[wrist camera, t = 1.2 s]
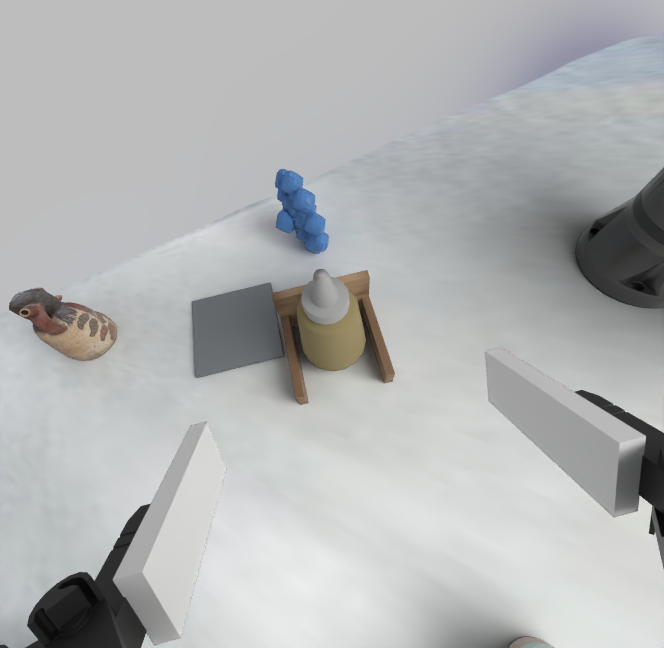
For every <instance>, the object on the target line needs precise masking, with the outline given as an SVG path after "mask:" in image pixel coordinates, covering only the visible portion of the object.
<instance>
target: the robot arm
mask: <svg viewBox="0 0 664 648" xmlns="http://www.w3.org/2000/svg"><path fill="white" fill-rule="evenodd" d="M576 258H577V261H578V264H579V266H580V268H581V270H582V272H583V273H584V275H585V276H586V277H587V278H588V279H589V281H590V282H591V283H592V284H594V285H595V286H596V287H597V288H598V289H600V290H601V291H602V292H604V293H605V294H607V295H609V296H611V297H613V298H614V299H617V300H619V301H621V302H624V303H627V304H630V305H634V306H638V307H644V308H664V168H663V169H662V170H661V171H660V172H659V173H658V174H657V175H656V176H655V177H654V178H653V179H652V180H651V181H650V182H649V183H648V184H647V185H646V186H645V187H644V188H643V189H642V190H641V191H640V192H639V193H638V194H637V195H636V196H635V197H634V198H632V199H630V200H628V201H627V202H625V203H623V204H622V205H620V206H618V207H616V208H615V209H613V210H611V211H609V212H608V213H606V214H604V215H602V216H601V217H599V218H598V219H596V220H595V221H594V222H593V223H592V224H591V225H590V226H589V227H588V228H587V229H586V230H585V231H584V232H583V234H582V235H581V236H580V238H579V239H578V242H577V245H576ZM485 359H486V372H487V386H488V400H489V402H490V403H491V404H492V405H493V406H494V407H495V408H497V409H498V410H499V411H500V412H501V413H502V414H503V415H504V416H505V417H506V418H507V419H508V420H509V421H510V422H512V423H513V424H514V425H515V426H516V427H517V428H518V429H519V430H520V431H521V432H522V433H523V434H524V435H526V436H527V437H528V438H529V439H530V440H531V441H532V442H533V443H534V444H535V445H536V446H537V447H538V448H539V449H541V450H542V451H543V452H544V453H545V454H546V455H547V456H548V457H549V458H550V459H551V460H552V461H553V462H555V463H556V464H557V465H558V466H559V467H560V468H561V469H562V470H563V471H564V472H565V473H566V474H567V475H568V476H570V477H571V478H572V479H573V480H574V481H575V482H576V483H577V484H578V485H579V486H580V487H581V488H582V489H584V490H585V491H586V492H587V493H588V494H589V495H590V496H591V497H592V498H593V499H594V500H595V501H596V502H597V503H599V504H600V505H601V506H602V507H603V508H604V509H605V510H606V511H607V512H608V513H609V514H610V515H611V516H613V517H618V516H621V515H625V514H629V513H632V512H636V511H638V504H639V495H640V496H641V497H642V498H644V499H645V500H646V501H648V502H649V503H650V504H651V505H653V506H652V513H651V521H650V529H649V534H653V535H654V533H655V532H656V537H657V541H658V545H659V550H660V554H661V559H662V563H663V567H664V433H663V432H661V431H659V430H658V429H656V428H654V427H652V426H651V425H649V424H647V423H645V422H644V421H642V420H640V419H638V418H637V417H635V416H633V415H632V414H630V413H628V412H625V410H623V409H621V408H619V407H618V406H616V405H615V406H614V405H613V404H612V403H611V402H609V401H607V400H606V399H604V398H602V397H600V396H598V395H595V394H592V393H589V392H586V391H583V390H580V391H576V392H573V391H572V390H570V389H568V388H567V387H565V386H563V385H562V384H560V383H559V382H557V381H555V380H554V379H552V378H550V377H549V376H547V375H545V374H544V373H542V372H541V371H539V370H537V369H536V368H534V367H532V366H531V365H529V364H528V363H526V362H524V361H523V360H521V359H519V358H518V357H516V356H515V355H513V354H511V353H510V352H508V351H506V350H505V349H503V348H502V347H498V348H494V349H490V350H486V351H485ZM226 470H227V469H226V467H225V464H224V462H223V459H222V457H221V454H220V452H219V450H218V447H217V445H216V442H215V440H214V437H213V435H212V432H211V430H210V427H209V425H208V423H207V422H203V423H199V424H195V425H191V426H190V427H189V429H188V431H187V433H186V435H185V437H184V439H183V441H182V443H181V445H180V447H179V449H178V451H177V453H176V455H175V457H174V459H173V461H172V463H171V465H170V467H169V469H168V471H167V473H166V475H165V477H164V479H163V481H162V483H161V485H160V487H159V489H158V491H157V493H156V495H155V497H154V499H153V501H152V503H151V504H148V505H144V506H141V507H140V508H139V509H138V510H137V511H136V512H135V513H134V514H133V516H132V517H131V518H130V519H129V520H128V522H127V523H126V525H125V527H124V529H123V531H122V532H121V534H120V538H118V540H117V541H116V543H115V545H114V547H113V548H114V549H113V550H112V551H111V552H110V554H109V556H108V558H107V560H106V561H105V563H104V565H103V567H102V569H101V570H100V572H99V574H98V576H97V578H96V579H95V581H94V580H93V579H92V577H91V576H90V575H89V574H88V573H87V572H79V573H76V574H73V575H71V576H68V577H67V578H65V579H64V580H62V581H60V582H59V583H57V584H56V585H55V586H54V587H53V588H51V589H50V590H49V591H48V592H47V593H46V594H45V595H44V596H43V597H42V598H41V599H40V601H39V602H38V603H37V604H36V605H35V607H34V609H33V610H32V612H31V614H30V616H29V619H28V624H27V626H28V627H29V629H30V630H31V631H32V632H33V633H34V635H35V636H36V637H37V638H38V641H36V642H34V643H33V644H31V645H29V646H27V647H26V648H141V646H142V643H143V640H144V637H145V634H146V633H147V635H148V636H149V638H150V639H151V641H152V643H153V644H154V645H157V644H161V643H164V642H168V641H171V640H175V639H179V638H181V636H182V632H183V628H184V625H185V621H186V617H187V614H188V610H189V606H190V602H191V599H192V595H193V591H194V588H195V584H196V580H197V577H198V573H199V569H200V566H201V562H202V558H203V554H204V551H205V547H206V543H207V540H208V536H209V532H210V529H211V525H212V521H213V518H214V514H215V510H216V506H217V503H218V499H219V495H220V492H221V488H222V484H223V481H224V477H225V473H226ZM0 648H8V647H7V646H6V645H0Z"/></svg>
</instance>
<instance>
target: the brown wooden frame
mask: <svg viewBox="0 0 664 648" xmlns="http://www.w3.org/2000/svg"><path fill="white" fill-rule="evenodd" d="M336 279H338V280H340V281H341V282H343V283H344V285H345V286H346V287H347V289H349V290H350V291H351V292H352V293H353V294H354V296H355V297H356V299H357V301H358V306H359V310H362V313H363V316H364V319H365V323H366V326H367V329H368V332H369V335H370V338H371V342H372V345H373V348H374V351H375V354H376V357H377V361H378V364H379V367H380V370H381V373H382V376H383V380H384V383H388V382H392V381H393V377H394V374H395V373H394V370H393V367H392V364H391V361H390V358H389V355H388V352H387V349H386V346H385V343H384V340H383V337H382V334H381V331H380V328H379V325H378V322H377V319H376V316H375V313H374V310H373V307H372V304H371V301H370V298H369V274H368V271H367V270H366V271H362V272H358V273H353V274H349V275H345V276H341V277H337V278H336ZM306 286H307V285H304V286H300V287H296V288H292V289H288V290H284V291H280V292H276V293H272V294H271V296H272V301H273V303H274V305H275V307H276V309H277V311H278V313H279V315H280V317H281V322H282V327H283V333H284V338H285V343H286V349H287V354H288V359H289V365H290V370H291V376H292V381H293V386H294V392H295V397H296V399H297V401H298V402H299V403H300V404H301V405H302V404H306V403H308V398H307V393H306V388H305V383H304V378H303V373H302V369H301V364H300V359H299V354H298V349H297V344H296V339H295V334H294V329H293V327H295V326H299V325H298V319H297V306H298V303H299V301H300V298H301V296H302V293H303V290H304V288H305V287H306Z"/></svg>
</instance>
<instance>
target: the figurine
mask: <svg viewBox="0 0 664 648" xmlns="http://www.w3.org/2000/svg"><path fill="white" fill-rule="evenodd" d="M61 299H62V296H61V295H57V296H55V297H54V296H52V295H51V294H49V293H47V292H46V291H45V290H44V289H43V288H34V289H30V290H27V291H24V292H20V293H18V294H16V295H15V296H14V297H13V298H12V301H11V302H10V305H9V310H10V311H12V312H14V313H16V314H18V315H20V316H22V317H24V318H26V319H29V320H31V322H32V323H33V329H34V332H35V333H36V335H37V336H38V337H39V338H40V339H41V340H42V341H44V342H45V343H47V344H48V345H50V346H51V347H53V348H54V349H56V350H58V351H59V352H61V353H63V354H64V355H66V356H68V357H70V358H73V359H77V360H82V361H86V360H93V359H96V358H98V357H100V356H101V355H103V354H104V353H105V352H107V351H108V350H109V349H110V348H111V346H112V345H113V343H114V342H115V340H116V335H117V327H116V324H115V323H114V322H113V321H112V320H111V319H110V318H108V317H107V316H105V315H103V314H101V313H99V312H96V311H93V310H91V309H89V308H87V307H85V306H83V305H80V304H76V303H64V302H61Z"/></svg>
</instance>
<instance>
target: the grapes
mask: <svg viewBox="0 0 664 648" xmlns="http://www.w3.org/2000/svg"><path fill="white" fill-rule="evenodd" d="M302 186H303V178H302V177H301V176H299V175H298V174H297V173H295V172H293V171H287V170H285V169H281V170H279V171H278V172H277V175H276V182H275V187H276V188H278V195H277V199H278V200H279V201H281V202H282V205H283V210H281V211H280V212H279V213H278V216H277V222H276V227H277V228H278V229H280V230H282V231H284V232H286V233H292V232H293V231H296V238H298V239H299V240H301V241H303V242H306V243H305V248H306V249H307V250H309V251H311V252H313V253H320V252H323V251H324V250H326V248H327V245H328V235H327V234H326V233H324V229H325V218H323V217H322V216H320V215H318V214H316V205H315V195H314V194H312V193H311V192H309V191H308V190H306V189H302Z"/></svg>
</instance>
